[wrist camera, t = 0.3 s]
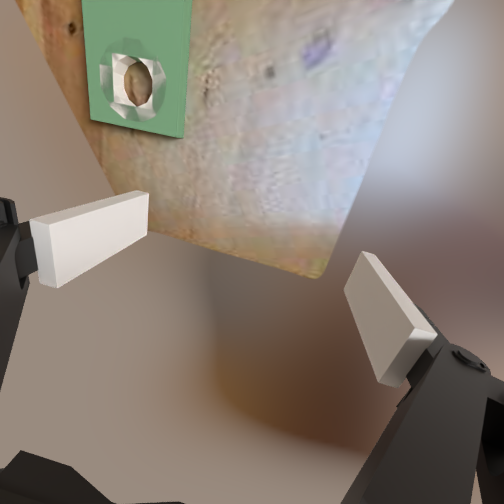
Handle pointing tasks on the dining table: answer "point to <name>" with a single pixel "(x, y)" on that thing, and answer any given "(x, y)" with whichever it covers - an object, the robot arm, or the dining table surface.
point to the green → (138, 50)
